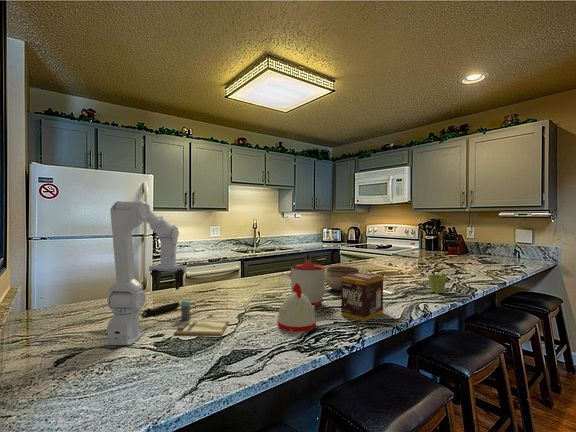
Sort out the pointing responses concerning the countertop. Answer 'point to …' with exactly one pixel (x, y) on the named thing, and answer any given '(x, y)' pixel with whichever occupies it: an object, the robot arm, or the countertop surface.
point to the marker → (185, 310)
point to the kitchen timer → (296, 312)
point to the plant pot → (437, 283)
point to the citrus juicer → (309, 281)
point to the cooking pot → (338, 275)
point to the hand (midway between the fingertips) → (167, 288)
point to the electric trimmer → (160, 309)
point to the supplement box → (362, 296)
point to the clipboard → (202, 328)
